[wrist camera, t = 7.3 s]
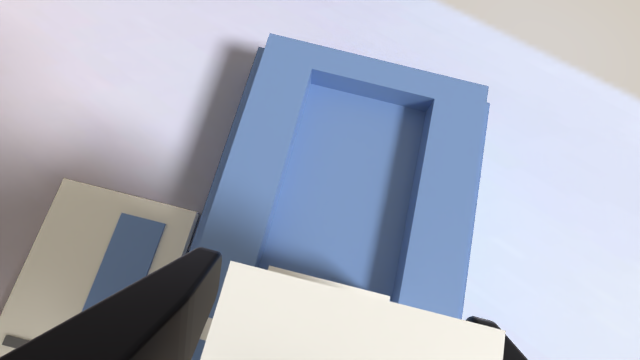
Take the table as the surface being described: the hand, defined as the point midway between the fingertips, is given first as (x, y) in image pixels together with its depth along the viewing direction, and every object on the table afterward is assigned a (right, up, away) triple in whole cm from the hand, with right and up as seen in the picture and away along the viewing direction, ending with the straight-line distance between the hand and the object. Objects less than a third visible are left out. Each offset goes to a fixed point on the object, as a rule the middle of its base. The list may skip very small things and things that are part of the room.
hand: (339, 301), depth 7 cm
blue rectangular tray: (0, -1, +8) cm, 8 cm away
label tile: (-8, -2, +7) cm, 11 cm away
